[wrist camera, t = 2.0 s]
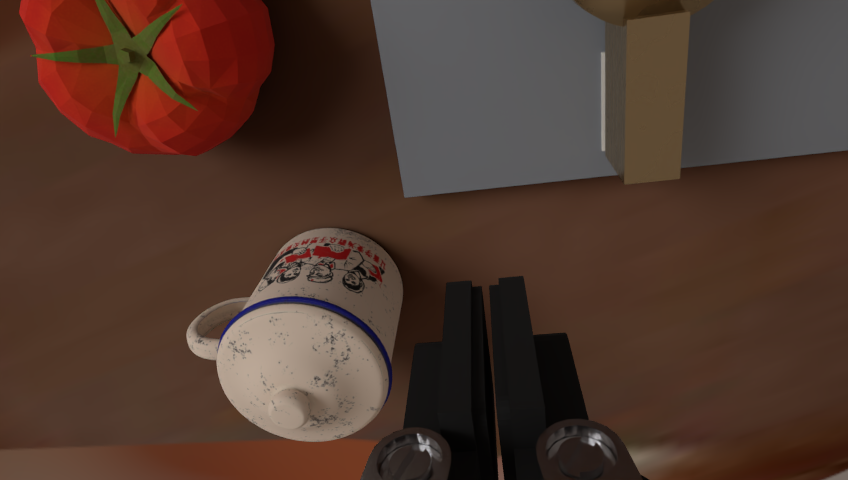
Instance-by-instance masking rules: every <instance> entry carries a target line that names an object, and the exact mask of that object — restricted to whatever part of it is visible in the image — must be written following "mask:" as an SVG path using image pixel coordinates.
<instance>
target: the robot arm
mask: <svg viewBox="0 0 848 480" xmlns="http://www.w3.org/2000/svg"><path fill="white" fill-rule="evenodd" d="M498 279H499V285H490V286H489V290H490V307H491V325H492V342H493V359H494V377H495V394H496V408H497V419H498V428H499V437H500V446H501V455H502V463H503V472H504V480H649V479H647V478H645V477H644V476H642V475H640V473H639V471H638V469H637V467H636V465H635V464H634V462H633V460H632V458H631V456H630V454H629V452H628V450H627V448H626V446H625V444H624V443H623V442H622V440H621V439H620V438H619V436H618V435H617V434H616V433H615V432H613V431H612V430H611V429H609V428H608V427H607V426H604V425H602V424H600V423H597V422H595V421H590V420H589V419H588V415H587V411H586V407H585V403H584V399H583V395H582V391H581V388H580V384H579V380H578V376H577V372H576V368H575V364H574V360H573V356H572V352H571V348H570V344H569V340H568V337H567V334H566V333H554V334H540V335H533V332H532V326H531V320H530V314H529V308H528V302H527V296H526V290H525V284H524V278H523V276H519V277H507V278H498ZM360 480H498V464H497V446H496V427H495V408H494V392H493V381H492V372H491V364H490V355H489V346H488V338H487V329H486V320H485V311H484V303H483V294H482V287H481V286H478V287H472V282H471V281H460V282H449V283H447V284H446V297H445V311H444V326H443V340H442V342H430V343H417V344H416V345H415V348H414V355H413V362H412V369H411V376H410V383H409V390H408V397H407V405H406V412H405V419H404V426H403V429H402V430H398V431H395V432H393V433H391V434H389V435H388V436H386V437H384V438H383V439H382V440H381V441H380V442H379V443H378V444H377V445H376V446H375V447H374V449H373V451H372V453H371V454H370V456H369V458H368V461H367V464H366V466H365V469H364V472H363V474H362V477H361V479H360Z"/></svg>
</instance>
